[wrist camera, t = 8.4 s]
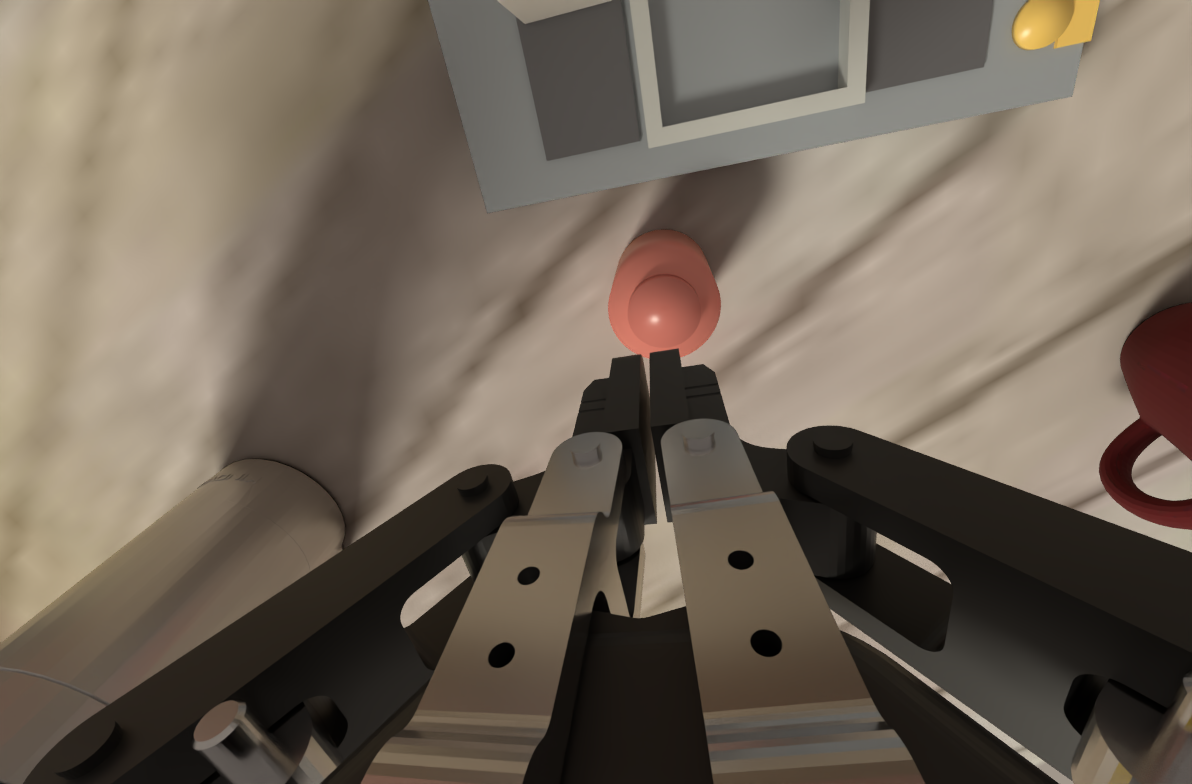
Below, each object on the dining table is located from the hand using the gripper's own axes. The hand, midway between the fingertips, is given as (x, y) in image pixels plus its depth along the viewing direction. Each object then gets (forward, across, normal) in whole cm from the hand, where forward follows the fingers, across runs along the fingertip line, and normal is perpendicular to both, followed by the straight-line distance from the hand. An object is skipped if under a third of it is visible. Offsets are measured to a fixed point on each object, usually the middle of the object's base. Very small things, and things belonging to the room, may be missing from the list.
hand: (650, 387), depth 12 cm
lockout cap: (+13, 0, +1) cm, 13 cm away
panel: (+13, -5, -9) cm, 16 cm away
